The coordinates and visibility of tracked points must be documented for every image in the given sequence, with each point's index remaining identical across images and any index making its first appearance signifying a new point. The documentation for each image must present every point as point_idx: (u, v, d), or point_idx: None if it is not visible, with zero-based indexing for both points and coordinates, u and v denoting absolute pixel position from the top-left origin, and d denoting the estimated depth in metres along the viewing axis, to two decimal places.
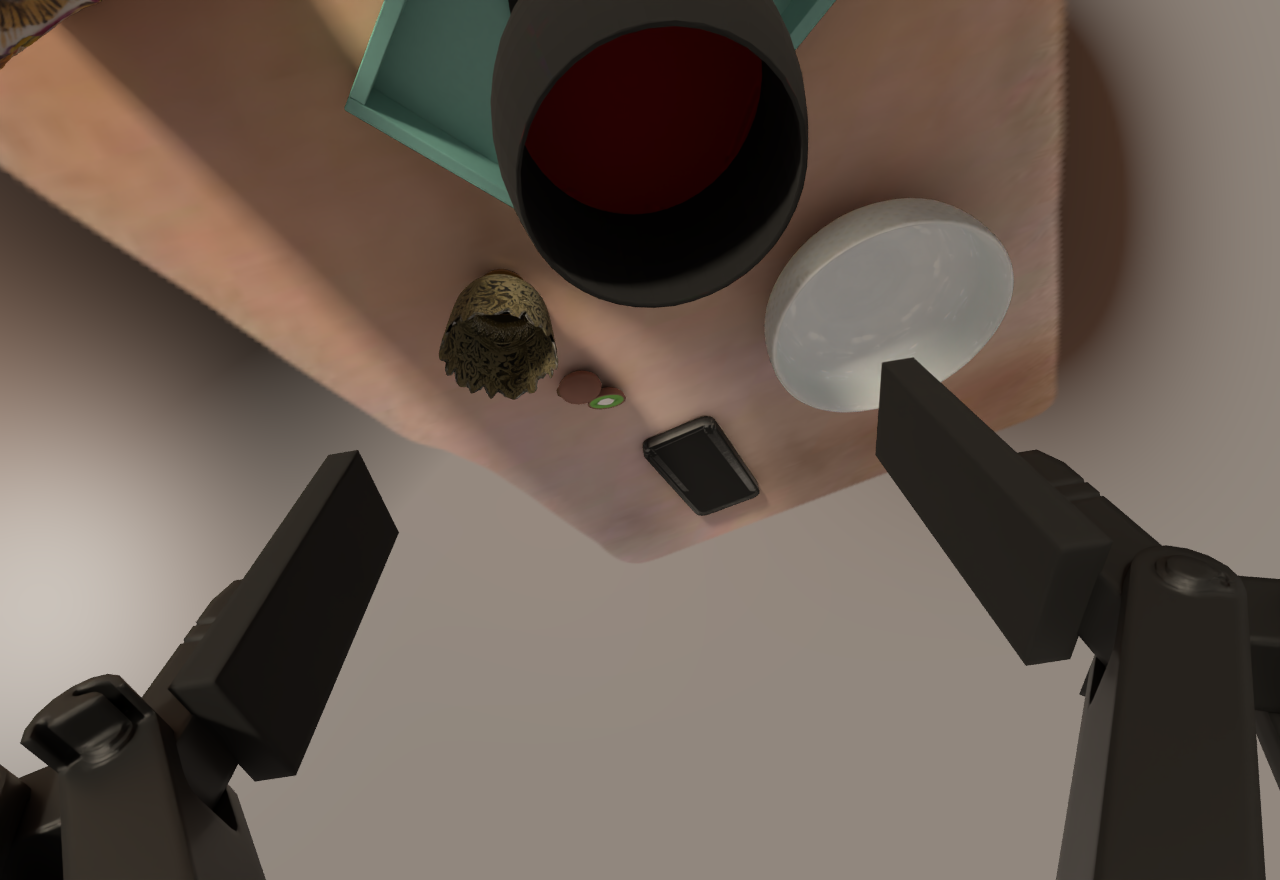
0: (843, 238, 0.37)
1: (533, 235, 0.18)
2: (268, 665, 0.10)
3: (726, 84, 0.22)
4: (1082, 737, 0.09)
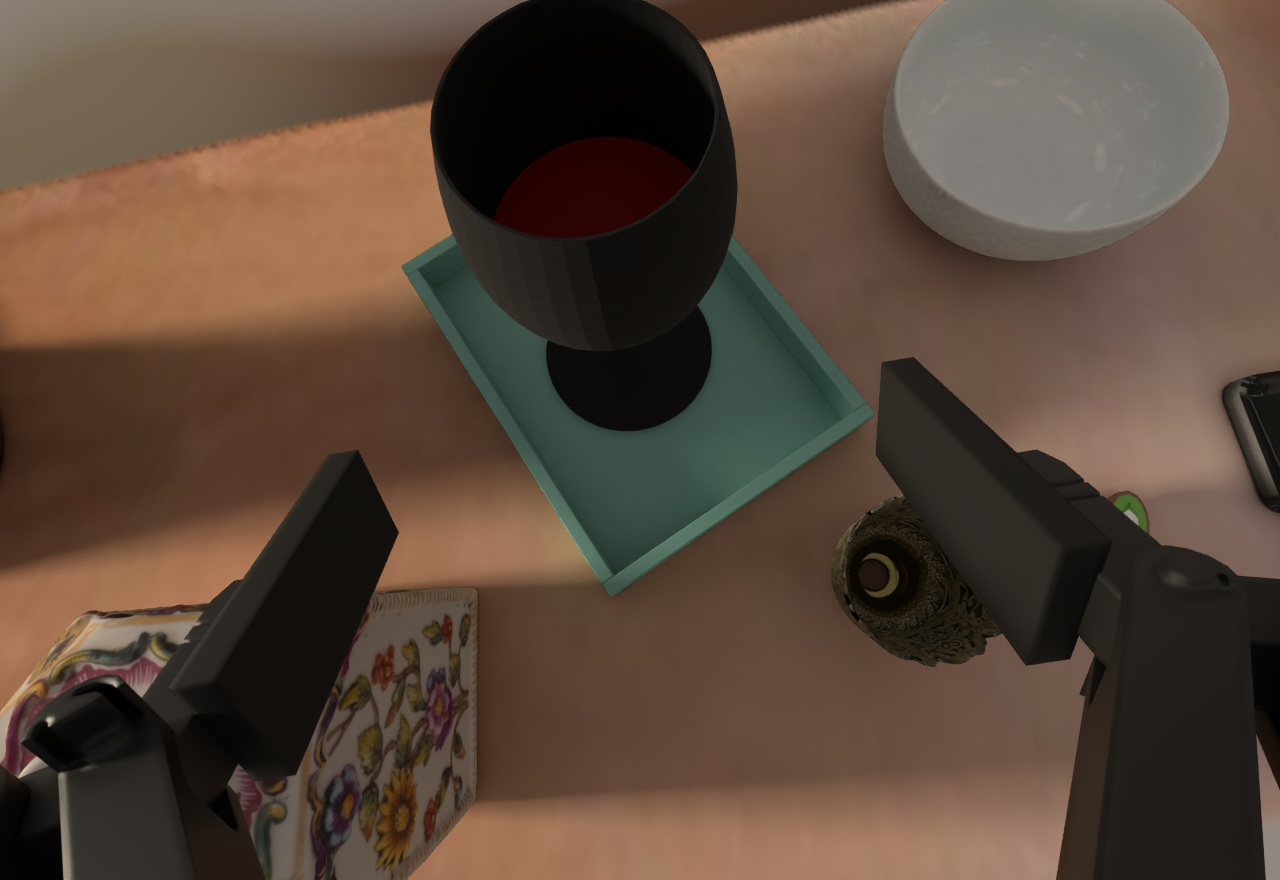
0: (898, 151, 0.33)
1: (565, 238, 0.17)
2: (268, 666, 0.10)
3: (620, 165, 0.25)
4: (1082, 737, 0.09)
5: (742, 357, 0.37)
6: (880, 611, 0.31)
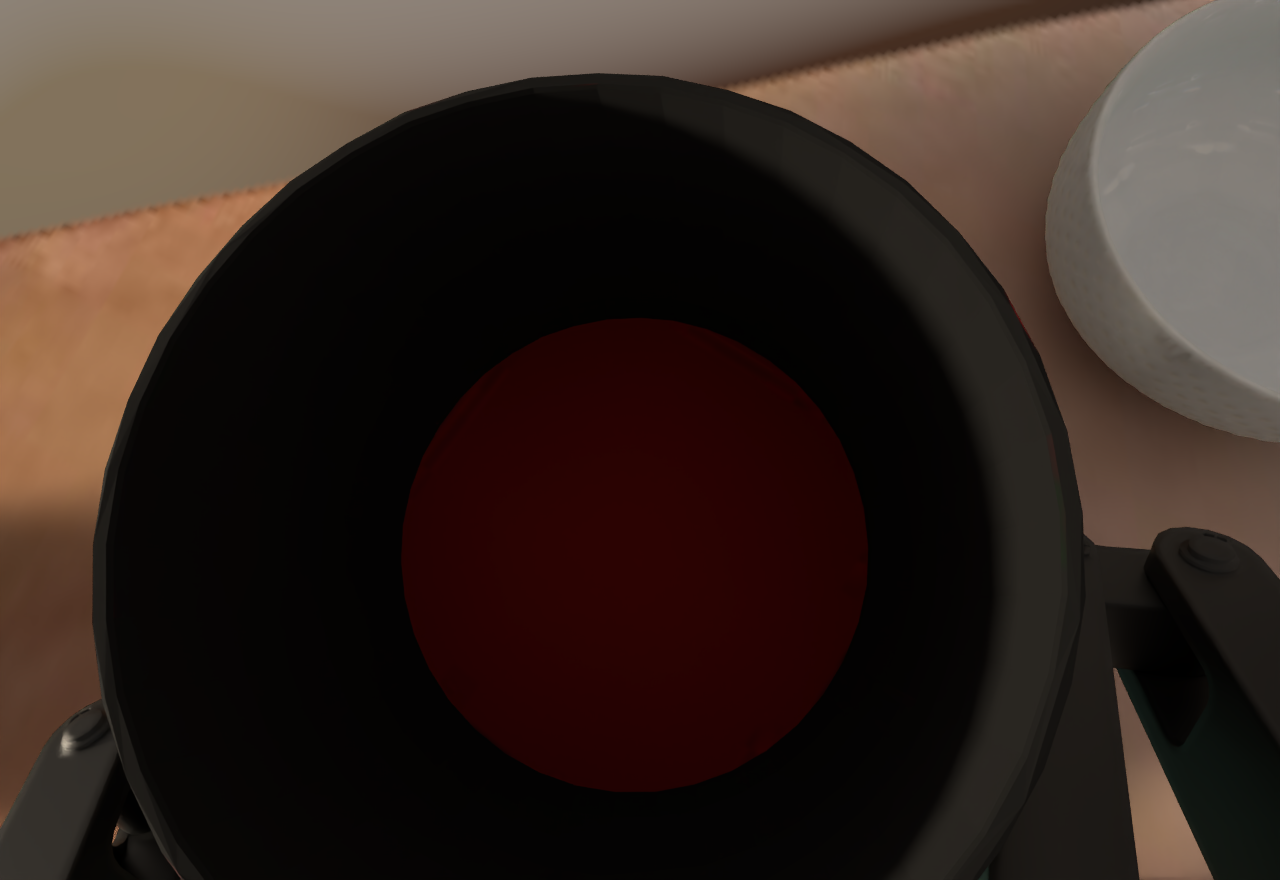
0: (1095, 274, 0.20)
1: None
2: None
3: (664, 379, 0.12)
4: None
5: None
6: None
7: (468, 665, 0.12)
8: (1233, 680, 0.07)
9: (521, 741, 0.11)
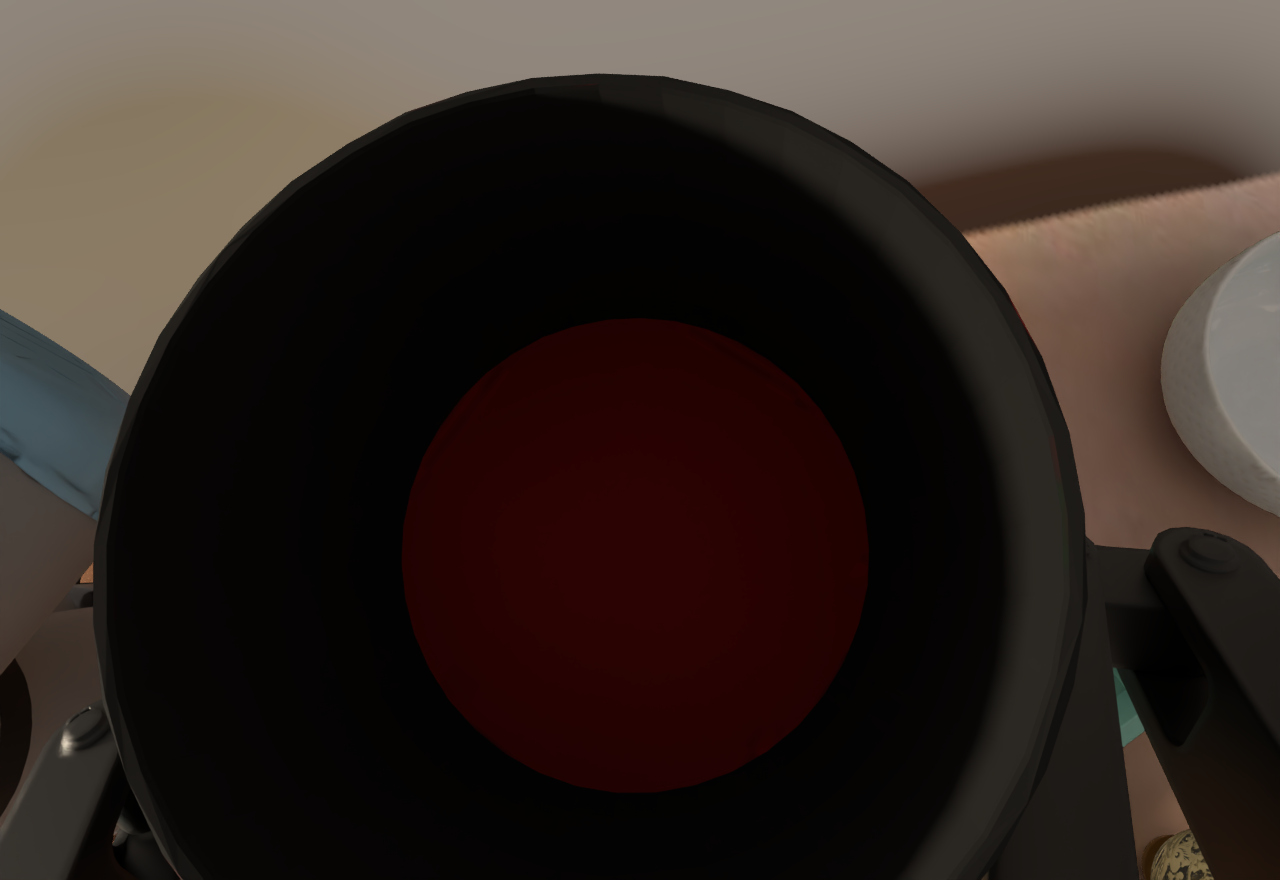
0: (1207, 418, 0.30)
1: None
2: None
3: (665, 379, 0.12)
4: None
5: None
6: None
7: (468, 666, 0.12)
8: (1233, 680, 0.07)
9: (521, 741, 0.11)
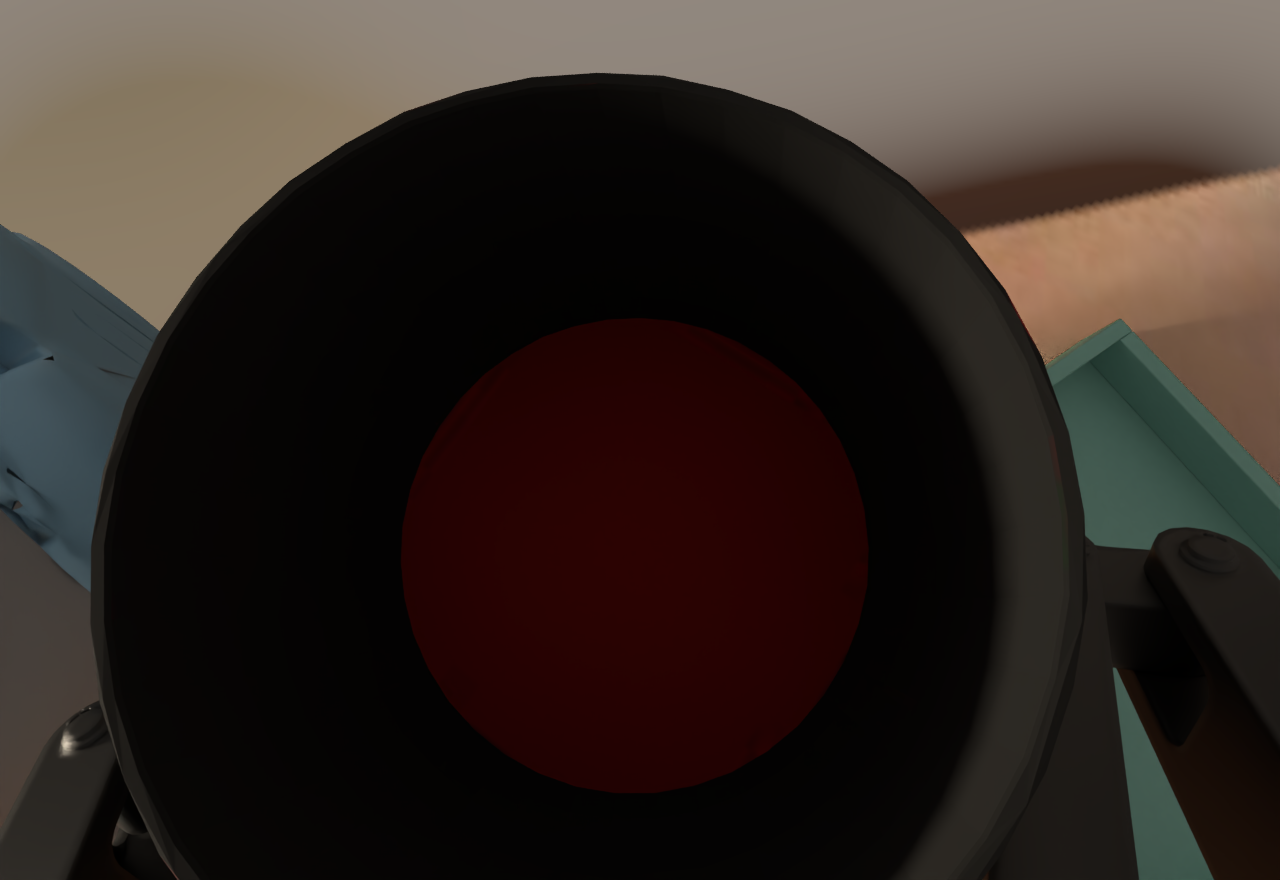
0: None
1: None
2: None
3: (664, 379, 0.12)
4: None
5: None
6: None
7: (468, 666, 0.12)
8: (1233, 680, 0.07)
9: (520, 742, 0.11)
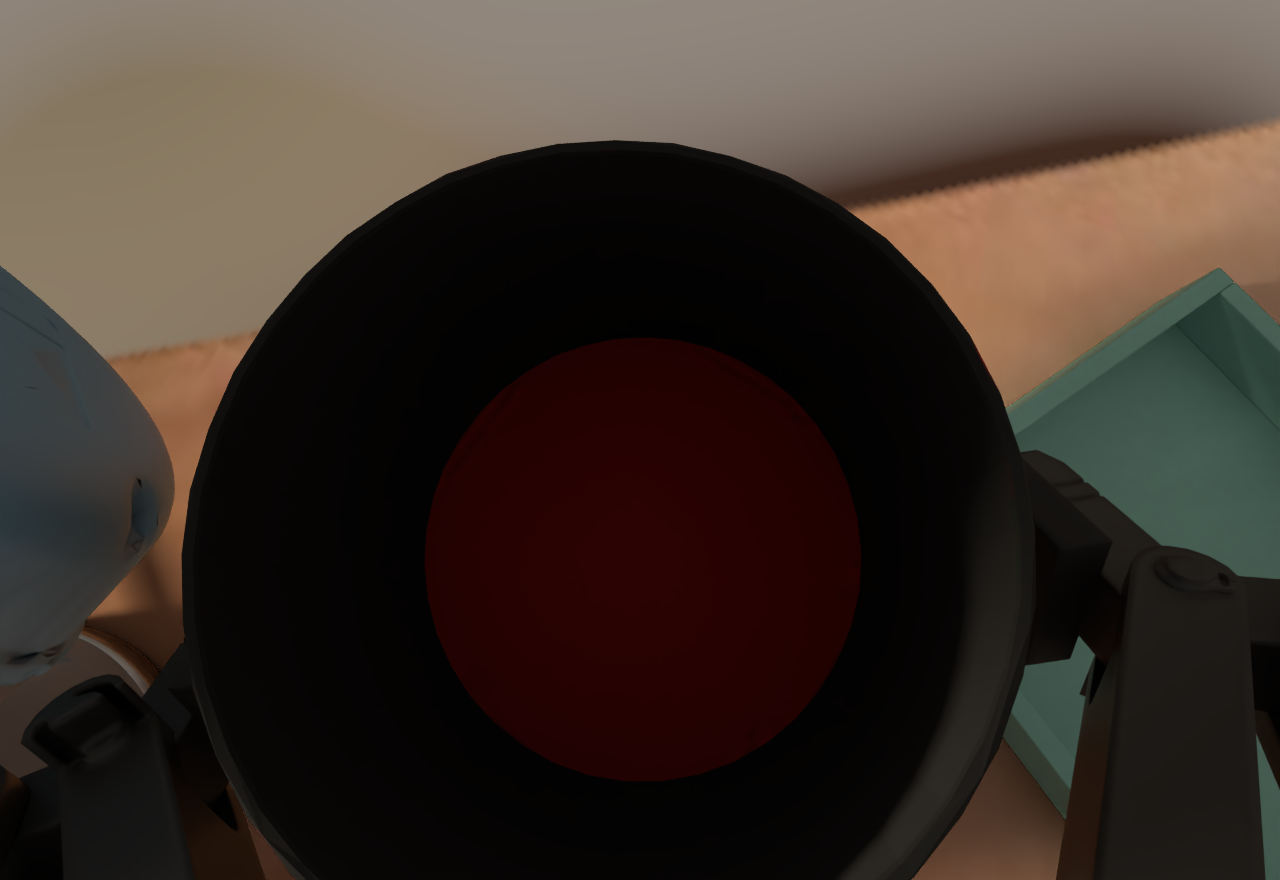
0: None
1: None
2: None
3: (671, 395, 0.13)
4: (1081, 737, 0.09)
5: None
6: None
7: (488, 663, 0.12)
8: None
9: (536, 734, 0.12)
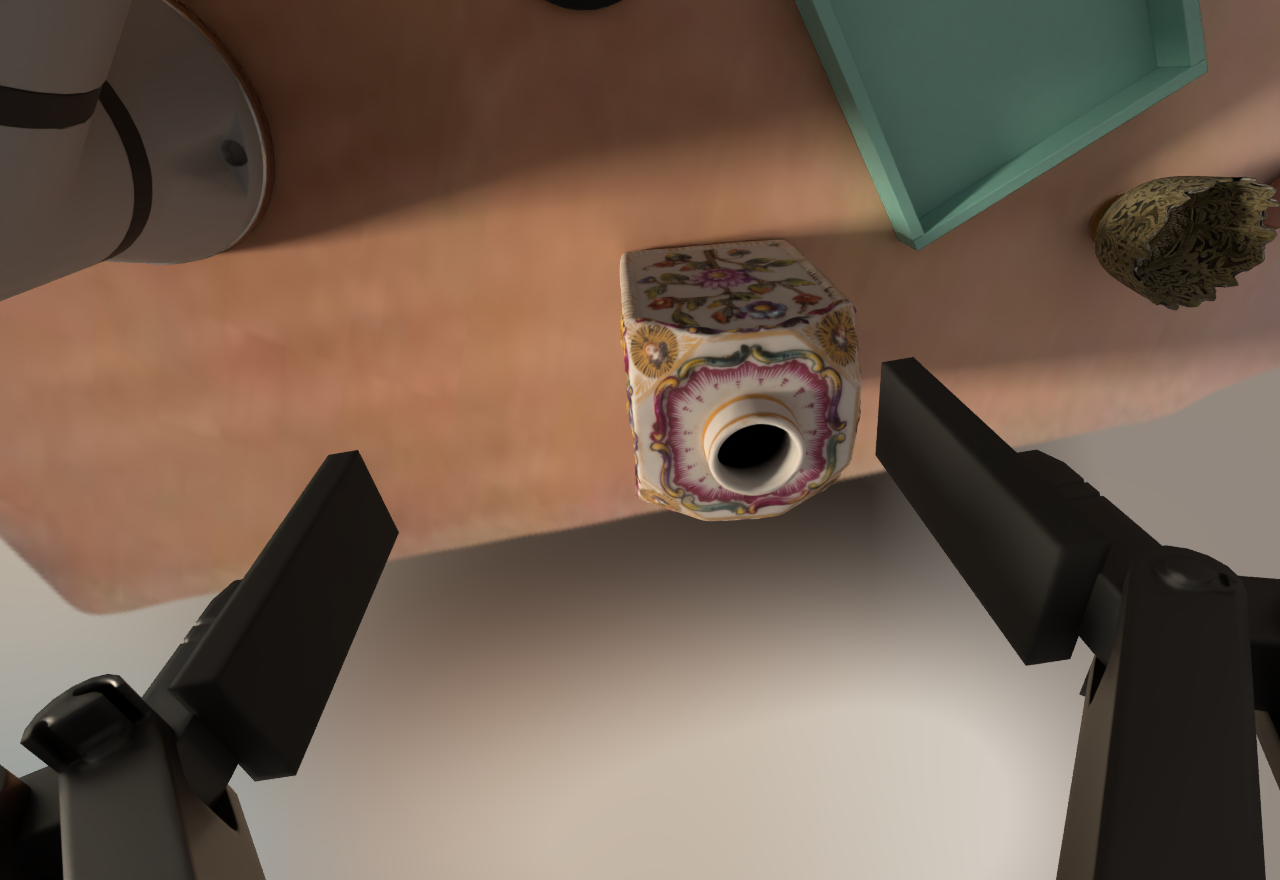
0: None
1: None
2: (268, 665, 0.10)
3: None
4: (1082, 737, 0.09)
5: None
6: None
7: None
8: None
9: None
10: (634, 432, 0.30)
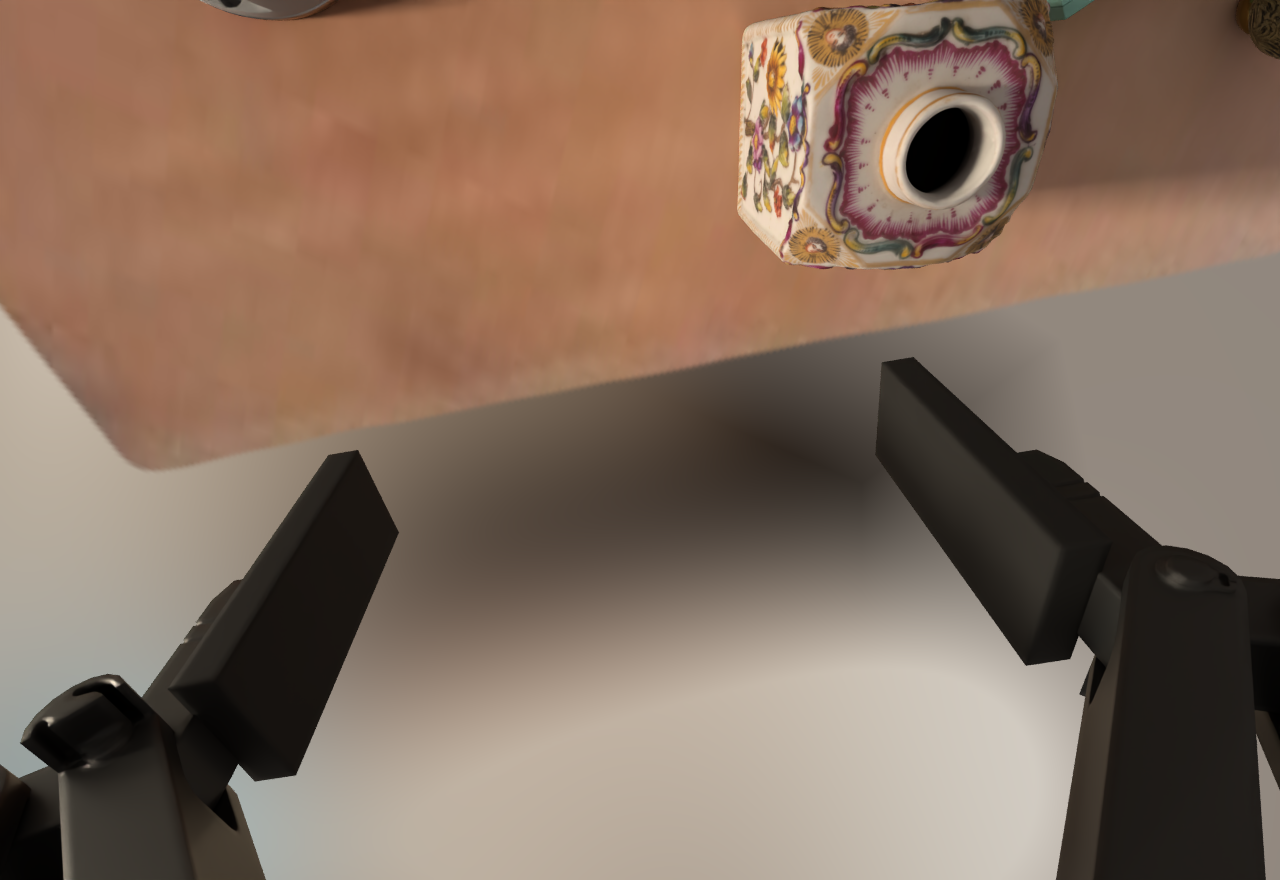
0: None
1: None
2: (268, 666, 0.10)
3: None
4: (1082, 737, 0.09)
5: None
6: None
7: None
8: None
9: None
10: (806, 141, 0.27)
